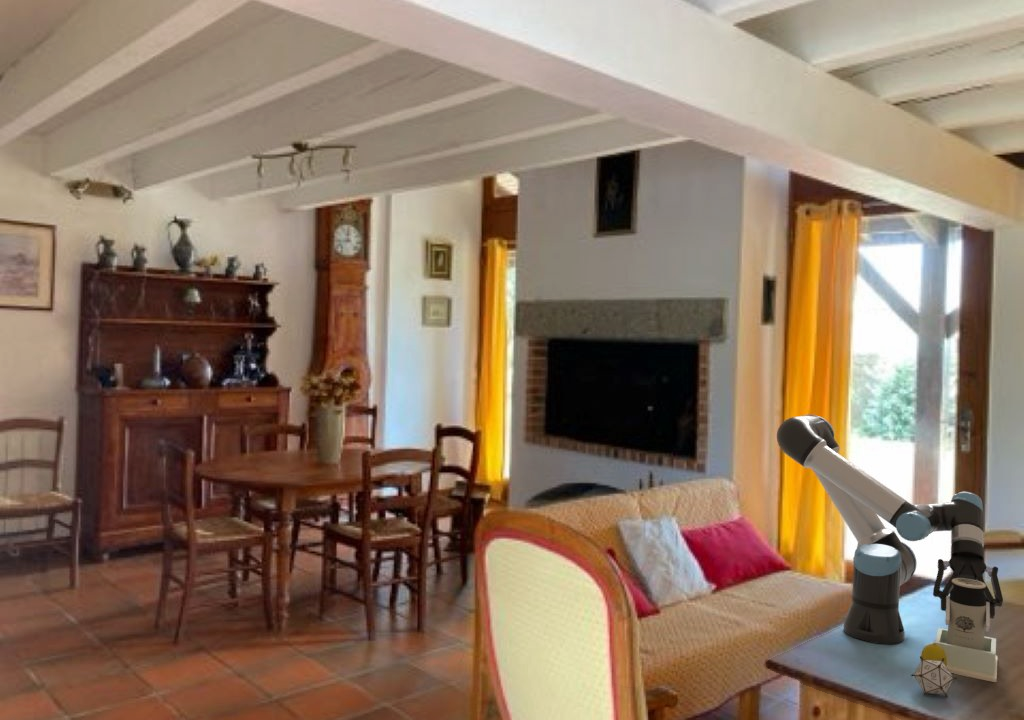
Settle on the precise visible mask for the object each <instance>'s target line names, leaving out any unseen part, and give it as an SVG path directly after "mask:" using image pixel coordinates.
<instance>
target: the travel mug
mask: <svg viewBox="0 0 1024 720" xmlns="http://www.w3.org/2000/svg"><path fill="white" fill-rule="evenodd" d="M952 582H953V589H952V590H951V592H950V594H949V596H950V620H949V625H947V629H948V638H947V644H951V645H956V646H961V647H967V648H972V649H977V650H982V651H984V636H985V632H986V631H985V616H986V596H985V594H984V588H985V587H986V585H987V583H986V584H984V583H983V582H980V581H977V580H973V579H967V578H954V579H952Z"/></svg>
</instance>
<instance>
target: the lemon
mask: <svg viewBox="0 0 1024 720" xmlns="http://www.w3.org/2000/svg"><path fill="white" fill-rule="evenodd" d="M920 656H921V657H922V658H923V659H924V660H937V661H942V658H944V661H943V662H944V664H945V665H947V657H946V654H945V651H944V650H943V649H942V648H941V647H940V646H939V645H937V644H936V643H935V642H932V643H929V644H927V645H925V646H924V647H923V648H922V650H921V654H920ZM921 661H922V660H921V659H920V662H921Z"/></svg>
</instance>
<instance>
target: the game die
mask: <svg viewBox="0 0 1024 720" xmlns="http://www.w3.org/2000/svg"><path fill="white" fill-rule="evenodd" d="M919 657H920V658H919V659H920V663H919V665H918V667H917V668H916V671H915V673H912V674H910V676H911V677H914V678H915V680H916V681H917V682H918V684H919V685H920V687H921V689H922V690H923V693H922V696H923V697H924V696H926V695H927V694H933V695H944V697H946V698H947V699H948V698H949V696H948V694H947V692H948V691H949V689H950V687H951V685H952V683H953V682H954V680H958V679H959V678H958V677H956V676H954V675H953V673H950V671H949V670H948V668H947V667H946V665H945V664H944V662H943V661H944V658H942V661H937V660H924V659H923V658H922V657H921V655H920V656H919ZM921 660H922V661H921Z"/></svg>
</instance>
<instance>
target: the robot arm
mask: <svg viewBox="0 0 1024 720" xmlns="http://www.w3.org/2000/svg"><path fill="white" fill-rule="evenodd" d="M776 441H777V443H778V444H777V445H778V446H779V448H780V450H781V451H782V452H783V453H784V454H785V455H787V456H788V457H789V458H790V459H792V460H793V461H795V462H797V463H798V464H799V465H800V466H802V467H804V468H805V469H811V470H812V471H813V473H814V475H815V476H816V477H817V479H818V481H819V482H820V484H821V485H822V487H823V489H824V490H825V492H826V493H827V495H828V497H829V498H830V500H831V502H833V504H834V507H835V508H836V509H837V510H838V512H839V514H840V516H841V517H842V519H843V520H844V522H845V523H846V525H847V527H848V528H849V530H850V532H851V533H852V535H853V536H854V538H855V539H856V541H857V545H856V546H857V547H856V549H855V551H854V556H853V558H852V559H853V560H852V562H853V572H852V574H853V575H852V592H851V593H852V595H851V604H850V606H849V609H848V611H847V613H846V615H845V618H844V621H843V631H844V633H845V634H847V635H849V636H850V637H852V638H855V639H858V640H860V639H861V641H864V640H865V642H868V641H869V643H872V644H873V643H875V644H880V645H881V644H883V645H884V644H885V645H892V644H894V645H895V644H900V643H902V642H904V641H905V628H904V624H903V620H902V618H901V614H900V611H899V610H900V609H899V608H900V607H899V606H900V604H899V603H900V589H901V588H900V587H902V585H904V584H906V583H908V582H909V581H910V580H911V579H912V577H913V576H914V574H915V572H916V570H917V565H918V564H917V558H916V555H915V553H914V551H913V550H912V548H911V547H910V546H909V545H908V544H907V543H905V542H903V541H901V540H900V538H899V537H898V535H899V536H900V537H901V538H902V539H904V540H905V541H909V542H917V541H922V540H925V539H926V537H928V536H929V535H931V534H932V533H934V532H944V531H945V532H949V531H951V535H950V536H951V537H950V539H951V541H950V544H951V545H950V558H949V560H943V559H942V558H939V559H937V574H936V578H935V582H934V586H933V590H932V595H933V597H934V598H936V597H937V598H939V599H940V610H941V611H943V612H945V625H946V626H948V625H949V620H950V592H951V590H952V589H953V582H952V579H954V578H967V579H973V580H977V581H980V582H983V583H984V584H986V587H985V588H984V594H985V596H986V616H985V632H987V633H989V632H990V630H991V629H990V628H991V619H995V615H996V610H995V608H996V607H999V608H1000V607H1002V606H1003V603H1004V597H1003V595H1002V594H1003V593H1002V590H1001V585H1000V582H999V578H998V573H999V568H998V567H997V566H993V567H992V566H991V567H990V566H987V565H986V562H985V549H984V546H985V539H984V537H985V536H984V515H985V513H984V508H983V501H982V499H981V497H980V496H979V495H977V494H975V493H973V492H969V491H961V492H958V493H955V494H954V495H953V496H952V497H951V501H950V502H947V501H946V502H941V503H939V502H938V503H921V504H919V503H916V504H912V503H910V502H909V501H907V500H906V499H905V498H903V497H902V496H900V495H899V494H898V493H897V492H894V491H893V490H892V489H890V488H889V487H887V486H886V485H884V484H883V483H881V482H880V481H878V479H876V478H875V477H873V476H871V475H870V474H868V473H867V472H865V470H863V469H861V468H860V467H858V466H856V465H855V464H854V463H853V462H851V461H849V460H848V459H846V458H845V457H844V456H842V455H841V454H840V449H841V448H840V445H839V444H838V442H837V441H836V439H835V431H834V428H833V426H832V425H831V424H830V422H829V421H828V420H826V419H825V418H823V416H818V415H815V414H804V415H800V416H791V417H790V418H789V417H788V418H787V419H785V420H784V421H782V422H781V424H780V425H779V426H778V428H777V431H776ZM881 519H883V520H884V521H886V522H887V523H889V524H890V525H891V526H893V527H894V528H895V529H896V531H897V533H898V535H897V533H896V532H895V530H892V529H890V528H887V527H885V525H884V523H883V521H881ZM948 567H949V568H950V570H952V572H953V573H952V575H950V576H951V577H950V578H949V579H948V581H947V583H946V584H945V586H944V588H943V589H942V590H941V587H942V581H943V578H944V574H945V571H946V570H947V569H948ZM985 572H986V573H987V575H988V577H990V583H991V587H992V591H993V594H994V596H993V594H992V593H991V591H990V589H989V587H988V586H987V583H986V581H985V580H984V578H983V574H984V573H985Z"/></svg>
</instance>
